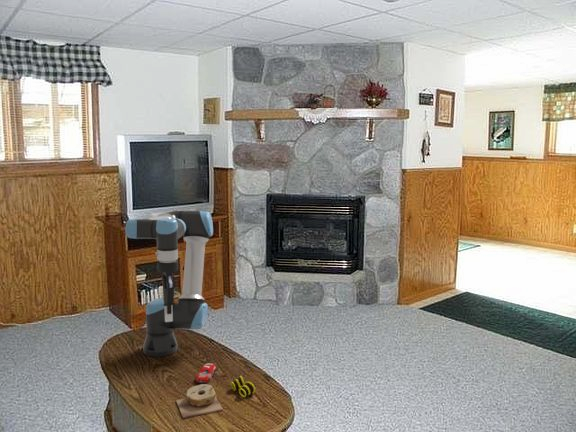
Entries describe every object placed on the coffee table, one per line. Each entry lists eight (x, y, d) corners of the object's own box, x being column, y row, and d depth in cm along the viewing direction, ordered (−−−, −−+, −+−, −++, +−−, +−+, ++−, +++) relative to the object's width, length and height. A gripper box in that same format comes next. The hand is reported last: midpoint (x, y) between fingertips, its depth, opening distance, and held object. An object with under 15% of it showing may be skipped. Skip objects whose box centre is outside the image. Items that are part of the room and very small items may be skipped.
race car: (207, 385, 191) (207, 376, 190) (194, 384, 192) (193, 374, 191) (217, 370, 204) (217, 361, 203) (205, 369, 204) (205, 360, 204)
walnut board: (176, 401, 178) (176, 400, 178) (213, 394, 184) (213, 392, 184) (182, 418, 167) (182, 417, 167) (222, 410, 173) (222, 408, 173)
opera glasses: (230, 390, 189) (228, 379, 187) (241, 384, 192) (239, 373, 190) (245, 401, 181) (243, 389, 180) (256, 394, 184) (254, 382, 183)
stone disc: (182, 398, 179) (194, 412, 171) (181, 389, 178) (194, 402, 171) (207, 389, 185) (220, 402, 178) (207, 380, 185) (220, 393, 177)
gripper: (154, 257, 186) (155, 316, 189) (160, 265, 174) (161, 328, 178) (174, 255, 189) (175, 314, 192) (181, 263, 177) (182, 325, 181)
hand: (168, 321), depth 185 cm, fingers closed
